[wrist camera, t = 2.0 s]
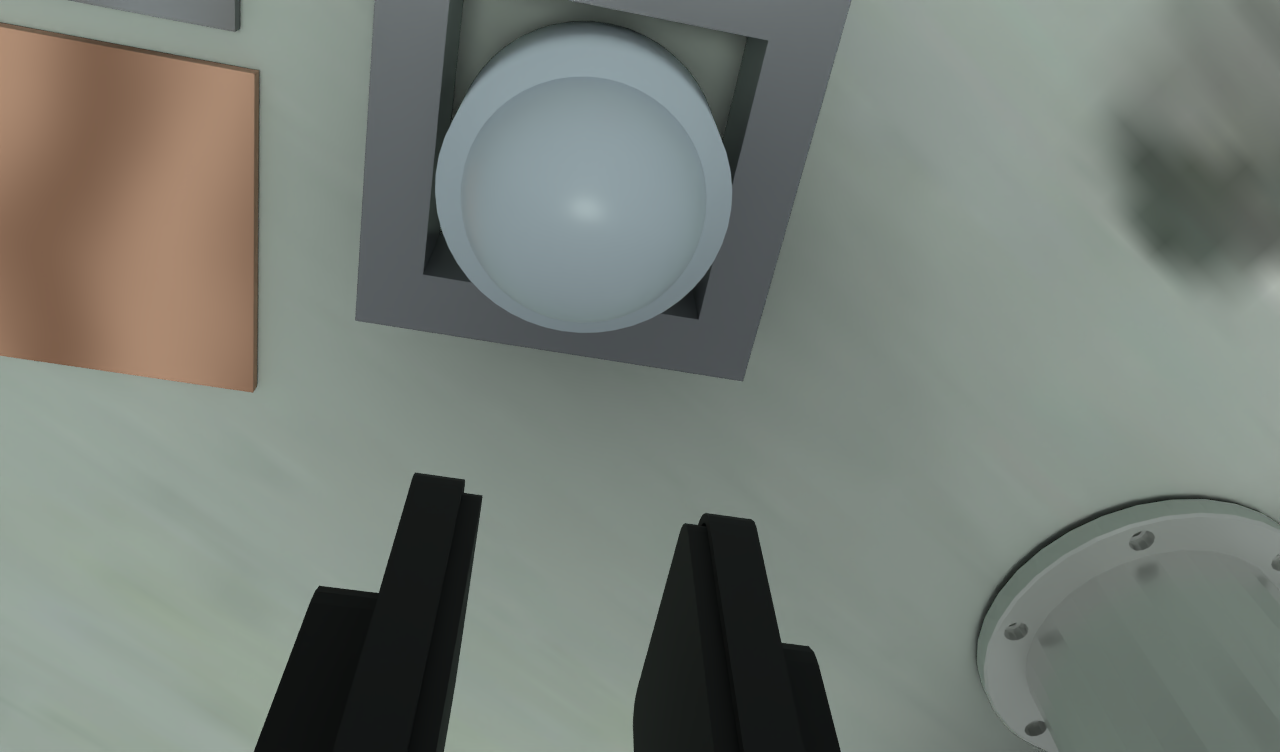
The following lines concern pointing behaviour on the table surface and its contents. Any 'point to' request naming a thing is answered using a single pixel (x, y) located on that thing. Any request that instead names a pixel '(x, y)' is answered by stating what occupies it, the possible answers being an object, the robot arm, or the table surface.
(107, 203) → the game track
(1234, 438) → the table surface
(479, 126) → the dome
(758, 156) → the grey hollow frame
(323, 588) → the robot arm
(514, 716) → the table surface
